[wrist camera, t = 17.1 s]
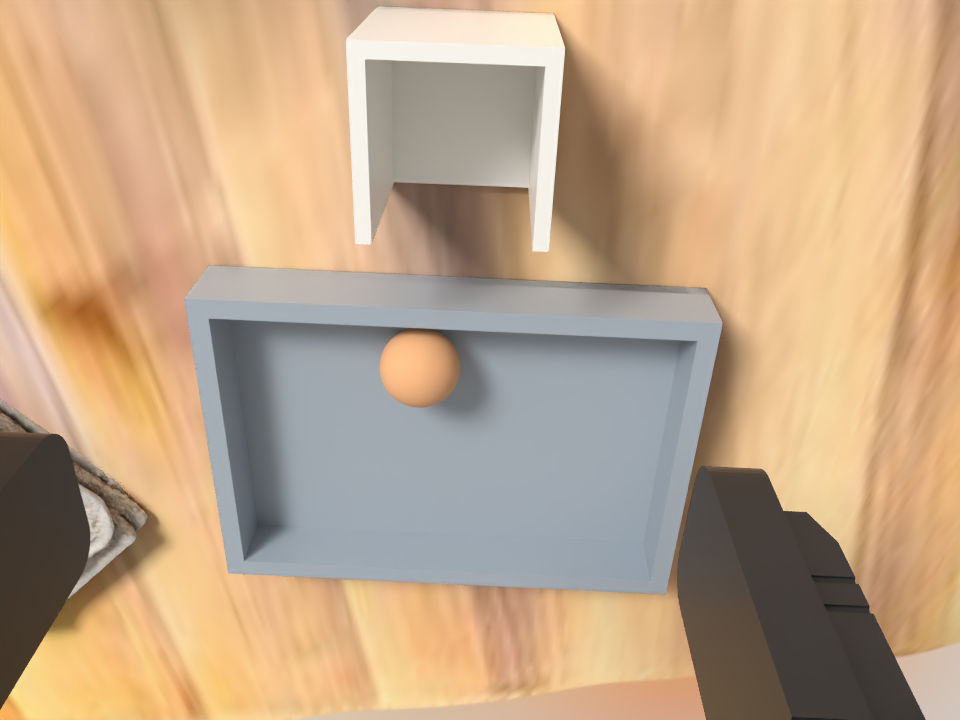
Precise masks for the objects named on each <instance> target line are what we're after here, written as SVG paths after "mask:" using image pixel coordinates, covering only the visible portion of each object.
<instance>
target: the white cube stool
mask: <svg viewBox="0 0 960 720" xmlns="http://www.w3.org/2000/svg"><path fill="white" fill-rule="evenodd" d="M346 54H347V75H348V97H349V118H350V139H351V161H352V182H353V204H354V225H355V244H372V242H373V239H374V236H375V233H376V231H377V228H378V225H379V222H380V220H381V217H382V214H383V212H384V209H385V206H386V203H387V201H388V198H389V195H390V192H391V190H392V187H393V184H394V182H403V183H427V184H451V185H475V186H499V187H523V188H528V191H529V206H530V221H531V236H532V251H538V252H549V241H550V229H551V217H552V205H553V192H554V180H555V168H556V155H557V143H558V131H559V118H560V106H561V94H562V81H563V69H564V57H565V46H564V43H563V40H562V37H561V34H560V31H559V28H558V25H557V22H556V19H555V16H554V13H535V12H510V11H485V10H460V9H434V8H409V7H384V6H378V7H377V8H376V9H375V10H374V11H373V12H372V13H371V14H370V15H369V16H368V17H367V18H366V19H365V20H364V21H363V22H362V23H361V24H360V25H359V26H358V27H357V28H356V29H355V30H354V31H353V32H352V34H351V35H350V36H349V37H348V38H347V39H346Z"/></svg>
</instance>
